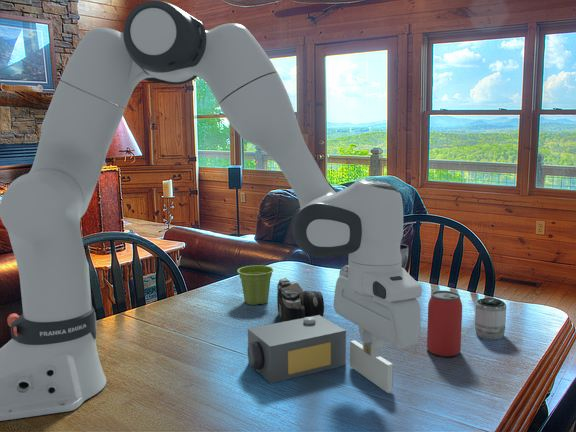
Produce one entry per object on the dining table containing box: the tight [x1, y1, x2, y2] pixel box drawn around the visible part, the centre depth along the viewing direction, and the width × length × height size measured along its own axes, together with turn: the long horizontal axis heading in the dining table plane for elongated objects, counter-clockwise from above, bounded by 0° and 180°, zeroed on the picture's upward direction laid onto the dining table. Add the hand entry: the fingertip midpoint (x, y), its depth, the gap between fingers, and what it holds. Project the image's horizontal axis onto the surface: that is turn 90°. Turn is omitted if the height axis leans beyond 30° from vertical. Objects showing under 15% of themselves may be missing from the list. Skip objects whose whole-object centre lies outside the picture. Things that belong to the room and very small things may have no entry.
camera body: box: [247, 315, 347, 384], centre depth 108 cm, size 17×10×8 cm, turn 117°
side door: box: [349, 339, 394, 394], centre depth 102 cm, size 12×2×5 cm, turn 26°
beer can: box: [426, 290, 463, 358], centre depth 114 cm, size 7×7×12 cm
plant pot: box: [236, 264, 274, 306], centre depth 147 cm, size 9×9×9 cm
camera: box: [276, 277, 325, 322], centre depth 132 cm, size 16×10×10 cm, turn 10°
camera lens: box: [474, 297, 507, 341], centre depth 123 cm, size 6×6×8 cm
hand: (371, 354), depth 97 cm, fingers closed
